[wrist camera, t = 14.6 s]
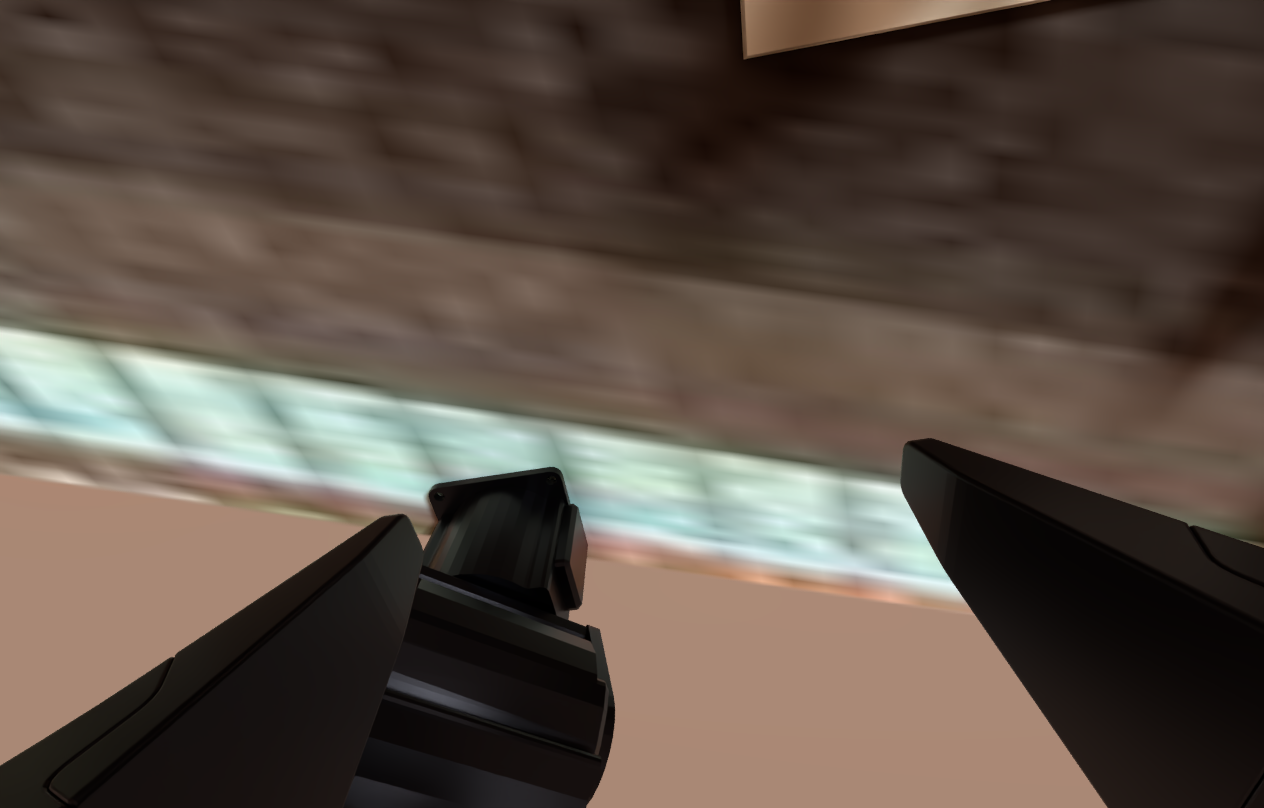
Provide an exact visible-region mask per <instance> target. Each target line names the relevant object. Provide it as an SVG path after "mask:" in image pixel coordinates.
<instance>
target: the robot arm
mask: <svg viewBox="0 0 1264 808" xmlns="http://www.w3.org/2000/svg"><path fill="white" fill-rule="evenodd" d="M549 476H553V477H555V478H556V479H555V480H550V479H548V477H549ZM900 483H901V489H902V492H903V494H904V497H905V498H906V500H907V502H908V504H909V506H910V508H911V510H912V511H913V513H914V515H915V517H916V519H917V521H918V523H919V525H920V526H921V528H922V530H923V532H924V534H925V536H926V538H927V539H928V541H929V543H930V545H931V547H932V549H933V551H934V553H935V554H936V556H937V558H938V560H939V561H940V563H941V565H942V567H943V568H944V570H945V571H946V573H947V575H948V576H949V578H950V579H951V581H952V582H953V584H954V585H955V586H956V588H957V589H958V591H959V592H960V594H961V595H962V597H963V598H964V600H965V601H966V602H967V604H968V605H969V607H970V608H971V610H972V611H973V613H974V614H975V616H976V617H977V618H978V620H979V621H980V623H981V624H982V626H983V627H984V629H985V630H986V632H987V633H988V634H989V636H990V637H991V639H992V640H993V642H994V643H995V645H996V646H997V648H998V649H999V650H1000V652H1001V653H1002V655H1003V656H1004V658H1005V659H1006V661H1007V662H1008V664H1009V665H1010V666H1011V668H1012V669H1013V671H1014V672H1015V674H1016V675H1017V677H1018V678H1019V679H1020V681H1021V682H1022V684H1023V685H1024V687H1025V688H1026V690H1027V691H1028V692H1029V694H1030V695H1031V697H1032V698H1033V700H1034V701H1035V703H1036V704H1037V705H1038V707H1039V709H1040V710H1041V711H1042V713H1043V714H1044V716H1045V717H1046V719H1047V720H1048V722H1049V723H1050V725H1051V726H1052V727H1053V729H1054V730H1055V732H1056V733H1057V735H1058V736H1059V737H1060V739H1061V740H1062V742H1063V743H1064V745H1065V746H1066V748H1067V749H1068V751H1069V752H1070V754H1071V755H1072V757H1073V758H1074V759H1075V761H1076V762H1077V764H1078V765H1079V767H1080V768H1081V770H1082V771H1083V773H1084V774H1085V775H1086V777H1087V778H1088V780H1089V781H1090V783H1091V784H1092V785H1093V787H1094V788H1095V790H1096V791H1097V793H1098V794H1099V796H1100V797H1101V799H1102V800H1103V802H1104V803H1105V804H1106V806H1107V807H1108V808H1264V548H1262V547H1259V546H1256V545H1253V544H1250V543H1246V542H1243V541H1240V540H1237V539H1234V538H1231V537H1228V536H1225V535H1222V534H1219V533H1216V532H1213V531H1210V530H1207V529H1204V528H1201V527H1198V526H1190V527H1189V526H1188V524H1187V523H1185V522H1183V521H1180V520H1177V519H1173V518H1170V517H1167V516H1164V515H1161V514H1158V513H1155V512H1152V511H1149V510H1146V509H1143V508H1140V507H1137V506H1134V505H1131V504H1128V503H1125V502H1122V501H1119V500H1116V499H1113V498H1110V497H1107V496H1104V495H1101V494H1098V493H1095V492H1092V491H1089V490H1086V489H1083V488H1080V487H1077V486H1074V485H1071V484H1068V483H1065V482H1062V481H1059V480H1056V479H1053V478H1050V477H1047V476H1044V475H1041V474H1038V473H1035V472H1032V471H1029V470H1026V469H1023V468H1020V467H1017V466H1014V465H1011V464H1008V463H1005V462H1002V461H999V460H996V459H993V458H990V457H987V456H984V455H981V454H978V453H975V452H972V451H969V450H966V449H963V448H960V447H957V446H954V445H951V444H948V443H945V442H942V441H939V440H936V439H932V438H926V439H919V440H913V441H908V442H907V443H906V444H905V445H904V448H903V455H902V467H901V479H900ZM437 492H438V493H442V494H443V495H444V496H440V495H438V494H437ZM429 499H430V502H431V504H432V506H433V509H434V511H435V514H436V516H437V518H438V521H439V522H438V524H437V526H436V528H435V530H434V531H433V533H432V535H431V537H430V539H429V541H428V543H427V545H426V547H425V549H424V550H423V549H422V546H421V543H420V541H419V539H418V537H417V534H416V532H415V530H414V528H413V525H412V523H411V521H410V519H409V518H408V517H407V516H406V515H404V514H396V515H389V516H383V517H381V518H379V519H377V520H376V521H374V522H373V523H371V524H370V525H368V526H367V527H365V528H364V529H362V530H361V531H360V532H358V533H356V534H355V535H354V536H352V537H350V538H349V539H347V540H346V541H345V542H343V543H341V544H340V545H338V546H337V547H335V548H334V549H333V550H331V551H329V552H328V553H327V554H325V555H323V556H322V557H321V558H319V559H318V560H316V561H314V562H313V563H311V564H310V565H308V566H307V567H305V568H304V569H302V570H301V571H299V572H298V573H296V574H295V575H293V576H292V577H290V578H289V579H287V580H286V581H284V582H283V583H281V584H280V585H278V586H277V587H275V588H274V589H272V590H271V591H269V592H268V593H266V594H265V595H263V596H262V597H260V598H259V599H257V600H256V601H254V602H253V603H251V604H250V605H248V606H247V607H246V608H244V609H243V610H241V611H239V612H238V613H236V614H235V615H233V616H232V617H230V618H229V619H227V620H226V621H224V622H223V623H221V624H220V625H218V626H217V627H215V628H214V629H212V630H211V631H210V632H208V633H206V634H205V635H203V636H202V637H200V638H199V639H197V640H196V641H194V642H193V643H191V644H190V645H188V646H187V647H185V648H184V649H182V650H181V651H179V652H178V653H177V654H176V655H175V657H171V658H169V659H167V660H166V661H164V662H163V663H161V664H160V665H158V666H157V667H155V668H154V669H152V670H151V671H149V672H148V673H146V674H145V675H143V676H141V677H140V678H138V679H137V680H135V681H134V682H132V683H131V684H129V685H128V686H126V687H125V688H123V689H122V690H120V691H118V692H117V693H115V694H114V695H112V696H111V697H109V698H108V699H106V700H105V701H103V702H102V703H100V704H99V705H97V706H95V707H94V708H92V709H91V710H89V711H87V712H86V713H84V714H83V715H81V716H79V717H78V718H76V719H75V720H73V721H71V722H70V723H68V724H67V725H65V726H64V727H62V728H60V729H59V730H57V731H56V732H54V733H52V734H51V735H49V736H48V737H46V738H45V739H43V740H41V741H40V742H38V743H36V744H35V745H33V746H31V747H30V748H28V749H26V750H25V751H24V752H22V753H20V754H18V755H17V756H15V757H13V758H12V759H10V760H9V761H7V762H5V763H4V764H2V765H1V766H0V808H586V805H587V804H588V803H589V801H590V800H591V799H592V797H593V795H594V793H595V791H596V789H597V787H598V785H599V783H600V780H601V778H602V775H603V772H604V770H605V767H606V763H607V760H608V757H609V753H610V748H611V743H612V738H613V731H614V723H615V703H614V696H613V691H612V687H611V681H610V676H609V672H608V667H607V663H606V657H605V653H604V648H603V643H602V639H601V633H600V629H598V628H595V627H592V626H590V625H587V626H586V627H585V626H583V625H580V624H577V623H575V622H572V621H569V620H568V618H569V611H570V610H577V609H579V607H580V606H581V605H582V599H583V589H584V578H585V568H586V558H587V548H588V544H587V540H586V536H585V532H584V528H583V524H582V521H581V517H580V513H579V509H578V507H577V506H575V505H574V504H570V500H569V497H568V493H567V489H566V485H565V482H564V478H563V474H562V472H561V471H560V470H559V469H558V468H555V467H547V468H540V469H534V470H527V471H520V472H513V473H506V474H500V475H493V476H486V477H479V478H473V479H466V480H459V481H452V482H446V483H439V484H436V485H434V486H433V487H432V489H431V490H430V492H429Z"/></svg>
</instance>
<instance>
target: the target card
mask: <svg viewBox="0 0 1264 808" xmlns="http://www.w3.org/2000/svg"><path fill="white" fill-rule="evenodd" d="M1044 1H1050V0H740V5H741V23H742V41H743V58H744V59H748V58H754V57H759V56H764V55H769V54H774V53H780V52H785V51H790V50H795V49H800V48H806V47H811V46H816V45H821V44H826V43H832V42H837V41H842V40H847V39H852V38H857V37H863V36H868V35H873V34H878V33H883V32H889V31H894V30H899V29H904V28H909V27H915V26H920V25H925V24H930V23H935V22H941V21H946V20H951V19H956V18H961V17H966V16H972V15H977V14H982V13H987V12H992V11H998V10H1003V9H1008V8H1013V7H1018V6H1024V5H1029V4H1034V3H1039V2H1044Z"/></svg>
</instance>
